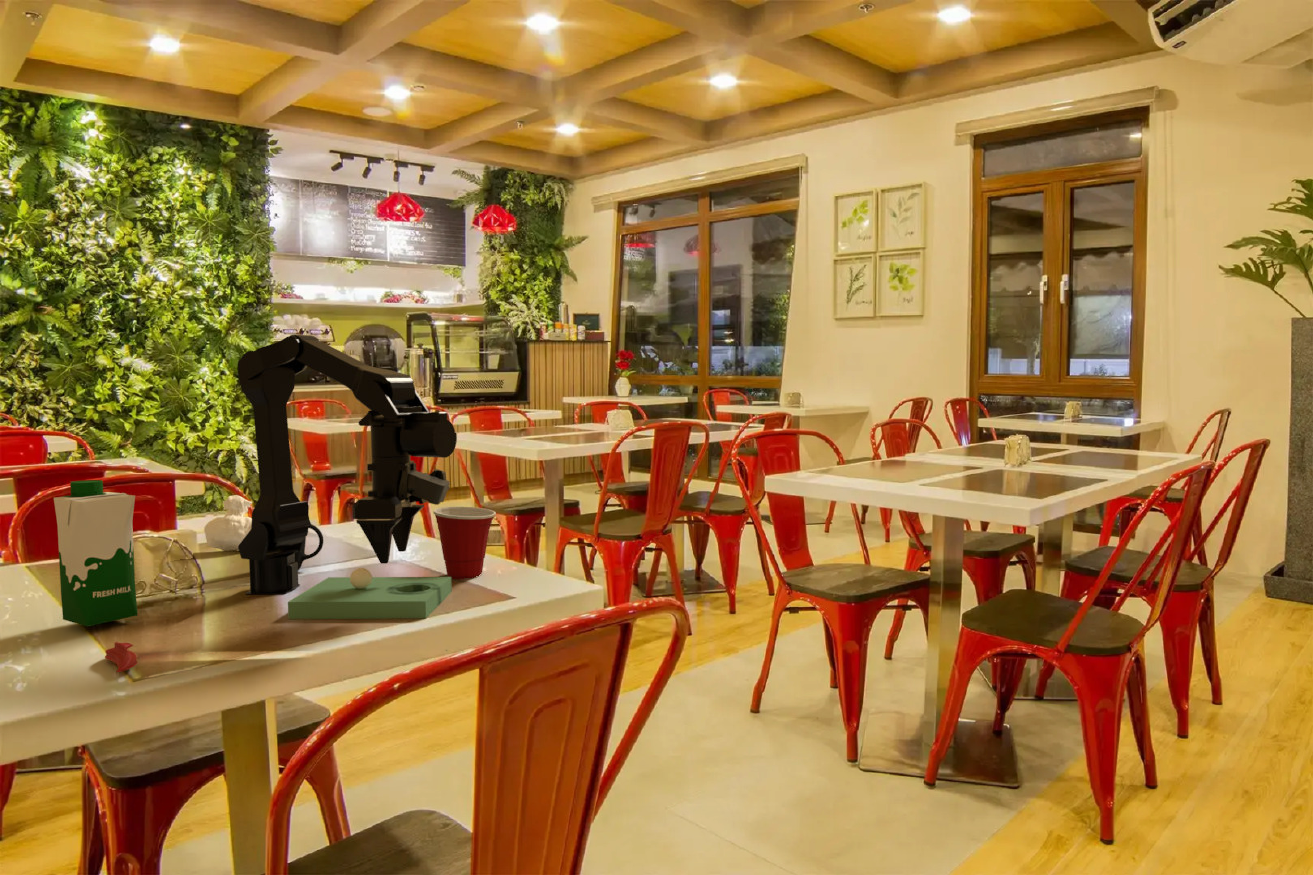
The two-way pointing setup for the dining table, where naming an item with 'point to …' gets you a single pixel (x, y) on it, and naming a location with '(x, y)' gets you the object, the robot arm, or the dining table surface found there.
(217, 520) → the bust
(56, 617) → the dining table surface
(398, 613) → the putting mat
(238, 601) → the dining table surface
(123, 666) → the cayenne pepper
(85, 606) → the milk carton
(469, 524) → the plastic cup
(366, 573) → the ball
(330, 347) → the robot arm
